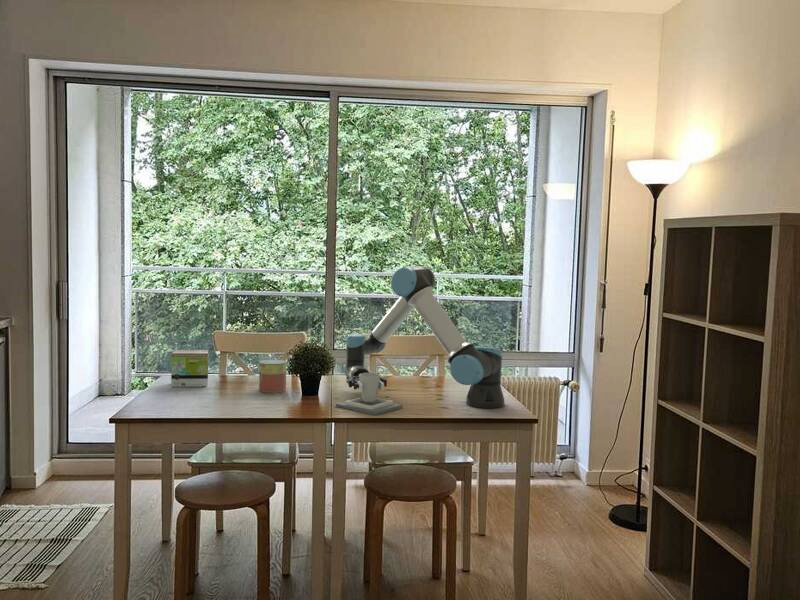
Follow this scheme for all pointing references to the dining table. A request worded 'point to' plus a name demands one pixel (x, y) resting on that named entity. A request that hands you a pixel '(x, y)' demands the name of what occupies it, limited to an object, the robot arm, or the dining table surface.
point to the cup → (369, 386)
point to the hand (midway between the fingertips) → (372, 387)
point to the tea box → (189, 368)
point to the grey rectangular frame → (370, 406)
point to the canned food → (272, 375)
